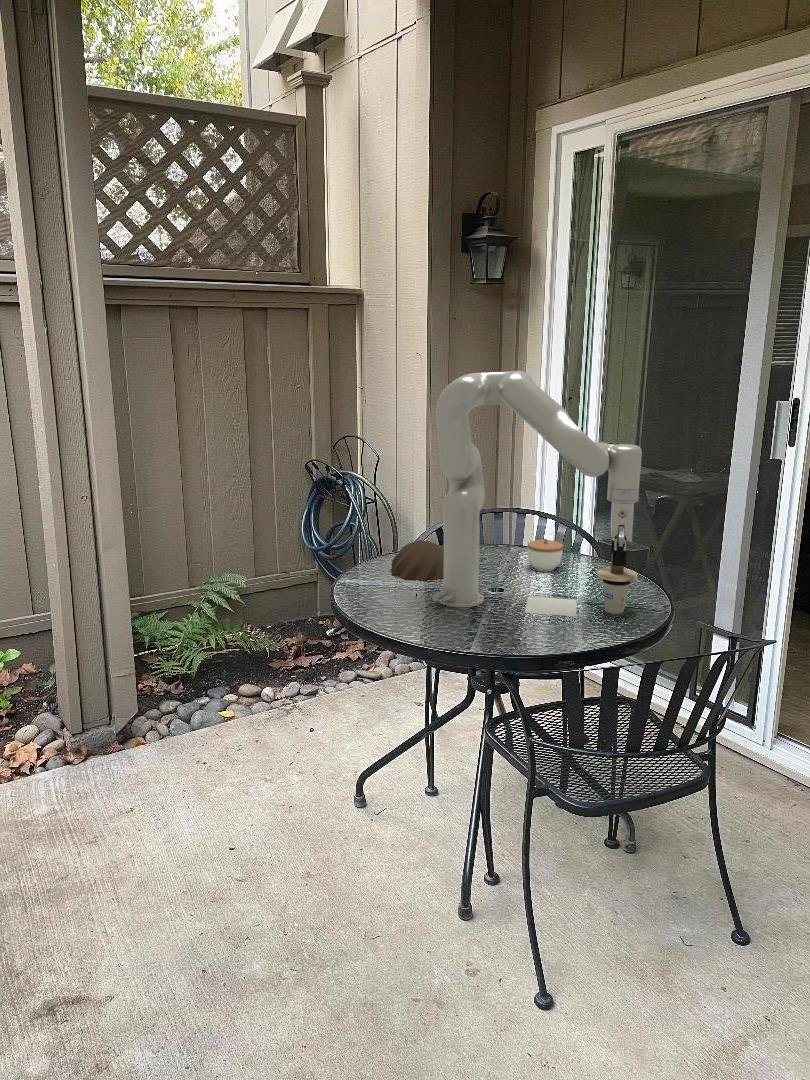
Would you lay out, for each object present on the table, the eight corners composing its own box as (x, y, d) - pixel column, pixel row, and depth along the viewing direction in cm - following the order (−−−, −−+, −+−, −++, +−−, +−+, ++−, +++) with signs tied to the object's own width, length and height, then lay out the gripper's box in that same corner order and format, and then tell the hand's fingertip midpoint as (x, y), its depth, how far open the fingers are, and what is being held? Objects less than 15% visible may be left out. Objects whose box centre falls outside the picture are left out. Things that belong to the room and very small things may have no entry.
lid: (625, 584, 192) (627, 561, 191) (589, 576, 199) (590, 554, 198) (643, 575, 200) (645, 553, 198) (608, 567, 206) (609, 546, 205)
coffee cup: (624, 608, 205) (627, 571, 203) (631, 617, 198) (634, 580, 196) (597, 607, 205) (600, 571, 203) (603, 617, 199) (606, 579, 196)
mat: (575, 618, 198) (576, 616, 198) (524, 614, 201) (524, 612, 201) (576, 601, 210) (576, 599, 210) (528, 598, 213) (528, 596, 213)
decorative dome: (377, 573, 235) (376, 541, 233) (418, 559, 250) (418, 529, 248) (427, 586, 223) (427, 553, 221) (467, 571, 238) (468, 539, 236)
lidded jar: (524, 563, 245) (526, 534, 243) (559, 563, 245) (560, 534, 242) (528, 573, 235) (530, 543, 232) (564, 573, 234) (566, 543, 232)
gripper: (640, 502, 185) (635, 571, 189) (636, 488, 201) (631, 552, 206) (608, 500, 187) (603, 569, 191) (606, 487, 203) (602, 550, 207)
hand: (618, 560), depth 198 cm, fingers open, 9 cm apart
